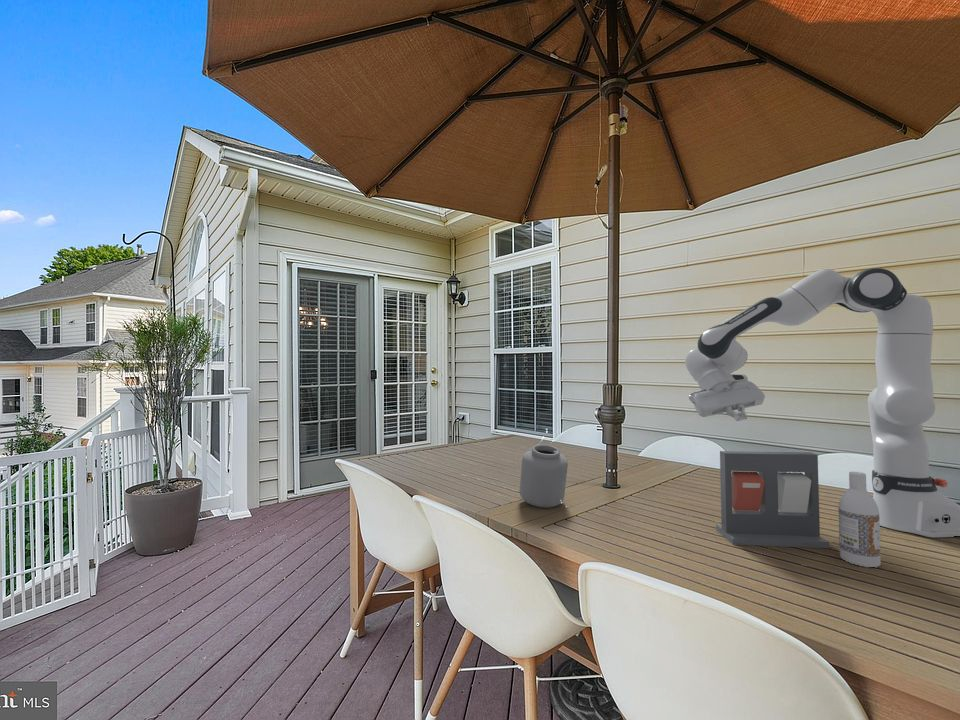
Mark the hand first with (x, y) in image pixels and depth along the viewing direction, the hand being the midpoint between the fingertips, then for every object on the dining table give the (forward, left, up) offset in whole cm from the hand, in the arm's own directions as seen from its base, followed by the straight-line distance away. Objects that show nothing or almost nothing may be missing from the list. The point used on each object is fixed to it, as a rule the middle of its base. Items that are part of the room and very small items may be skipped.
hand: (742, 419), depth 130 cm
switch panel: (+2, +19, -29) cm, 34 cm away
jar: (+59, -3, -29) cm, 66 cm away
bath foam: (-11, +31, -29) cm, 44 cm away
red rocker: (+8, +18, -21) cm, 28 cm away
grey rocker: (-3, +18, -21) cm, 28 cm away
